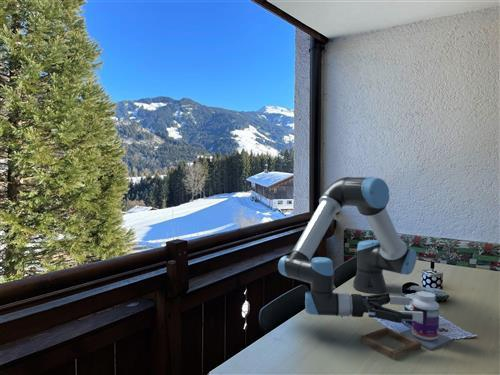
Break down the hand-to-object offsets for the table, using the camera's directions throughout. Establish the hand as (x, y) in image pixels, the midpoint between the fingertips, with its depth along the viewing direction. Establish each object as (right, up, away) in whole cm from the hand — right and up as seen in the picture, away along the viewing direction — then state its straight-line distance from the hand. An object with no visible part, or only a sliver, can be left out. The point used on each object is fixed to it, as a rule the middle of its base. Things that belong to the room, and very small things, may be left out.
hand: (415, 308), depth 119 cm
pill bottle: (+3, -10, 0) cm, 10 cm away
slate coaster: (+3, -10, 0) cm, 11 cm away
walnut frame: (-10, -10, -5) cm, 15 cm away
